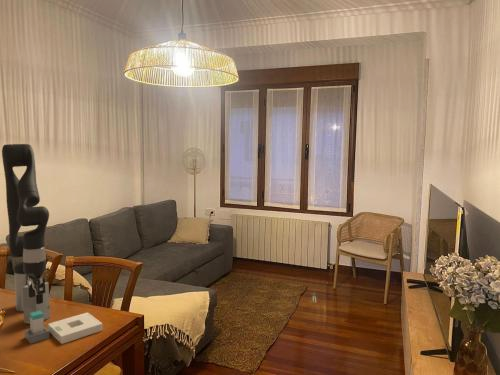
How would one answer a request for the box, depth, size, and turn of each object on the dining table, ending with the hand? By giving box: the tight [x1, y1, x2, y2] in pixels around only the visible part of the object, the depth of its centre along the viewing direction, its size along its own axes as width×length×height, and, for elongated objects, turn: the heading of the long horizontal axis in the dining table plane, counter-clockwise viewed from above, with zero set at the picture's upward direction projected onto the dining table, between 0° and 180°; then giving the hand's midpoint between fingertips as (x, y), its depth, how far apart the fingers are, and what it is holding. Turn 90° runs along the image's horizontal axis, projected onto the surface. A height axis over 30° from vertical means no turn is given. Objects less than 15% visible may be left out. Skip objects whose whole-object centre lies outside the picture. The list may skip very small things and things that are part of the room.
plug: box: [29, 311, 45, 335], centre depth 151 cm, size 4×4×10 cm
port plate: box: [47, 312, 103, 345], centre depth 158 cm, size 14×16×3 cm
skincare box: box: [22, 281, 51, 325], centre depth 165 cm, size 8×7×16 cm
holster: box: [24, 325, 50, 345], centre depth 152 cm, size 7×7×3 cm
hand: (35, 300), depth 150 cm, fingers open, 8 cm apart
